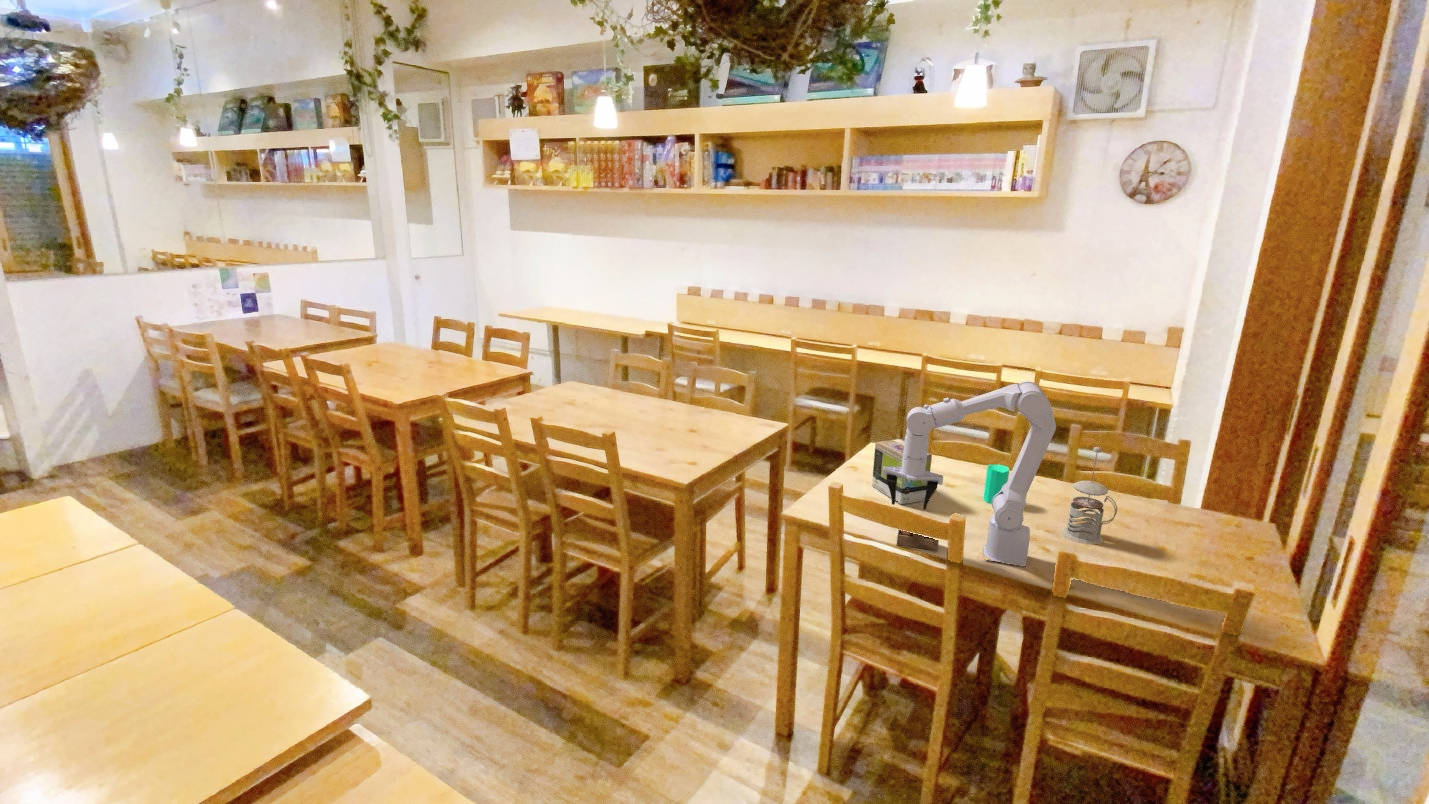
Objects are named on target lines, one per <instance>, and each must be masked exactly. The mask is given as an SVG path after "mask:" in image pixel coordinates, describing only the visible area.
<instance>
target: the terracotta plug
mask: <svg viewBox="0 0 1429 804" xmlns="http://www.w3.org/2000/svg"><path fill="white" fill-rule="evenodd" d="M901 534H902V535H906V536H910V535H911V533H910V532H907V531H903V530H902V531H901Z"/></svg>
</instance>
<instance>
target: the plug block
mask: <svg viewBox="0 0 1429 804" xmlns="http://www.w3.org/2000/svg"><path fill="white" fill-rule="evenodd" d="M896 538H897V539H896V547H903V548H909V549H915V550H920V551H929V552H932V553H938V551H939V550H938V548H939V541H940V540H932V539H927V538H926V537H924V536H922V535H918V534H913V533H911V535H910V536H906V535H902V534H901V530H899V529H898V531H897V537H896Z"/></svg>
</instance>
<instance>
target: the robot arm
mask: <svg viewBox="0 0 1429 804" xmlns="http://www.w3.org/2000/svg"><path fill="white" fill-rule="evenodd" d="M1052 407H1053V406H1052V404H1051V402H1050V401H1049V399H1048V397H1047V395H1046V393H1044V391H1043V390H1042V388H1041V387H1040V386H1039V384H1037V383H1035V382H1034V381H1029V380H1027V381H1022V382H1019V384H1017V383H1014V384H1013V383H1012V384H1009V385H1006V386H1004V387H1001V388H998V389H995V390H992V391H990V392H986V393H984V394H980V395H977V396H974V397H971V398H968V399H965V400H962V401H961V400H959V399H956V398H951V399H950V398H949V397H944V398H943V401H941V402H936V403H933V404H930V405H928V404H924V405H923V407H922V406H916V407H913V408H911V409H910V411H908V413H907V415H906V427H907V428H906V430H905V436H904V441H905V442H904V451H903V460H902V467H886V466H884V467H883V474H882V476H887V478H886V482H887V485H888V487H889V490H890V493H891V498H890V499H891V505H895V504H896V501H895V499H896V485H897V477H900V478H907V479H908V480H914V481H915V480H920V481H926V482H927V488H926V496H925V500H924V501H923V507H922V508H923V509H922V510H923V511H924V510H925V511H926V510H927V507H928V503H929V502H930V500H931V498H932V496H933V495H934V494H935V492H936V490H937V489H938V485H942V486H943V481H944V474H939V473H935V472H932V471H930V472H929V471H925V468H926V460H927V452H929V443H930V439H929V434H930V432H931V430H932V429H938V428H941V427H946V426H949V425H953V424H957V423H959V422H962V421H963V420H964V418H965V417H966V415H971V414H974V413H979V412H980V413H981V412H983V411H988V410H993V409H996V408H1003V409H1005V410H1007V411H1010V412H1015V411H1016V409H1015V408H1017V409H1018V411H1019V413H1020V414H1021V415H1022V416H1023V417H1025V418H1026V419H1027V421H1028V422H1029V423H1030V429H1029V430H1028V433H1027V434H1026V438H1025V439H1024V442H1023V444H1022V446H1021V450H1020V451H1019V454H1018V456H1017V457H1016V460H1015V463H1014V465H1013V468H1012V470H1011V472H1010V473H1009V477H1008V481H1007V483H1006V484H1005V485H1003V486H1002V489H1001V491H1000V492H999V493H998V494H996V495H995V496H994V497H993V499H992V504H991V506H992V509H993V514H992V516H990V517H989V522H988V523H989V524H988V530H987V531H988V532H987V538H986V544H982V545H983V546H982V547H983V548H982V549H984V551H983V556H984V555H985V556H988V557H990V558H992V559H988V560H993V561H997V562H1002V563H1001V564H1004V563H1009V564H1008V565H1010V564H1014V565H1013V566H1016V565H1021V566H1020V567H1023V566H1026V567H1027V558H1028V554H1029V545H1030V539H1031V538H1030V537H1031V531H1030V526H1028V525H1024V524H1023V522H1024V509H1025V508H1026V503H1027V502H1026V500H1027V494H1028V492H1029V490H1030V487H1031V485H1032V484H1033V481H1034V479H1035V477H1036V474H1037V472H1038V470H1039V468H1040V466H1041V463H1042V461H1043V458H1044V457H1045V454H1046V453H1047V449H1048V448H1049V445H1050V442H1051V441H1052V439H1053V436H1054V434H1055V433H1056V430H1057V424H1056V420H1055V415H1054V412H1053V408H1052ZM997 562H996V563H997Z"/></svg>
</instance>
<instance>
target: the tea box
mask: <svg viewBox="0 0 1429 804" xmlns="http://www.w3.org/2000/svg"><path fill="white" fill-rule="evenodd" d="M904 442H905V439H902V438H897V439H892V440H891V439H890V440H882V441H876V442H875V444H874V445H875V446H874V456H873V457H874V459H873V470H872V480H871V481H872V483H871V486H872V487H873V488H875V489H876V490H878V491H880V492H881V493H882V494H884V495H885V496H887V497H889V498H890V499H891V493H890V490H889V487H888V485H887V482H886V478H887V476H882V474H883V467H884V466H886V467H902V460H903V451H904ZM932 456H933V453H931V452H929V451H928V452H927V460H926V468H925V471H929V472H931V467H932ZM926 488H927V482H926V481H920V480H915V481H914V480H908V479H907V478H900V477H897V485H896V499H895V500H896V501H898V502H899V503H900V504H899V503H898V502H897V503H898V504H899V505H905V503H907V504H911V503H912V502H913V503H918V502H917V501H919V502H924V500H925V496H926ZM896 501H895V502H896ZM913 503H912V504H913Z"/></svg>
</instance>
